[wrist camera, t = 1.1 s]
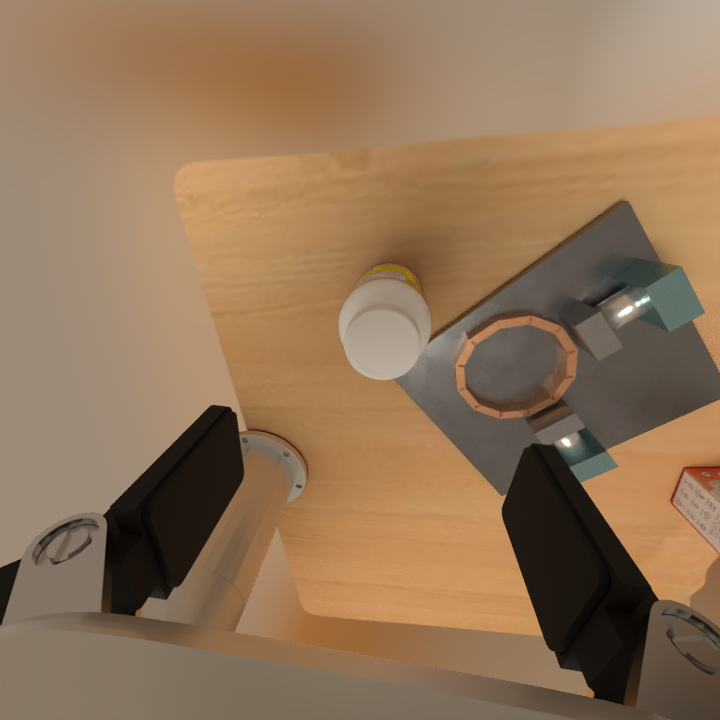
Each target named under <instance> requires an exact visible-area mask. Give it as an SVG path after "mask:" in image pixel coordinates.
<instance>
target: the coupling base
mask: <svg viewBox="0 0 720 720" xmlns="http://www.w3.org/2000/svg"><path fill="white" fill-rule="evenodd" d="M704 313H705V312H704V310H703V308H702V306H701V304H700V302H699V300H698V298H697V296H696V294H695V292H694V290H693V288H692V286H691V284H690V282H689V280H688V278H687V276H686V274H685V273H684V271H683V269H682V267H681V266H676V265H671V264H665V263H661V262H660V260H659V258H658V256H657V254H656V253H655V251H654V249H653V247H652V245H651V243H650V241H649V239H648V238H647V236H646V234H645V232H644V230H643V228H642V226H641V224H640V222H639V221H638V219H637V217H636V215H635V213H634V211H633V209H632V207H631V206H630V204H629V202H628V201H623V202H619V203H617V204H616V205H614V206H613V207H612V208H610V209H609V210H608V211H606V212H605V213H603V214H602V215H601V216H599V217H598V218H596V219H595V220H594V221H592V222H591V223H589V224H588V225H587V226H585V227H584V228H582V229H581V230H580V231H578V232H577V233H576V234H574V235H573V236H571V237H570V238H569V239H567V240H566V241H564V242H563V243H562V244H560V245H559V246H557V247H556V248H555V249H553V250H552V251H550V252H549V253H548V254H546V255H545V256H544V257H542V258H541V259H539V260H538V261H537V262H535V263H534V264H532V265H531V266H530V267H528V268H527V269H525V270H524V271H523V272H521V273H520V274H518V275H517V276H516V277H514V278H513V279H512V280H510V281H509V282H507V283H506V284H505V285H503V286H502V287H500V288H499V289H498V290H496V291H495V292H493V293H492V294H491V295H489V296H488V297H486V298H485V299H484V300H482V301H481V302H480V303H478V304H477V305H475V306H474V307H473V308H471V309H470V310H468V311H467V312H466V313H464V314H463V315H461V316H460V317H459V318H457V319H456V320H454V321H453V322H452V323H450V324H449V325H448V326H446V327H445V328H443V329H442V330H441V331H439V332H438V333H436V334H435V335H434V336H432V337H431V338H430V339H429V341H428V344H427V346H426V348H425V349H424V351H423V352H422V353H421V355H420V356H419V357H418V359H417V361H416V363H415V365H414V366H413V367H412V368H411V369H410V370H409V371H408V372H407V373H405V374H404V375H402V376H400V377H397V378H394V379H395V381H396V382H397V383H398V384H399V385H400V386H401V387H402V388H403V389H404V390H405V391H406V393H407V394H408V395H409V396H410V397H411V398H412V399H413V400H414V401H415V402H416V403H417V404H418V406H419V407H420V408H421V409H422V410H423V411H424V412H425V413H426V414H427V415H428V416H429V418H430V419H431V420H432V421H433V422H434V423H435V424H436V425H437V426H438V427H439V428H440V429H441V431H442V432H443V433H444V434H445V435H446V436H447V437H448V438H449V439H450V440H451V441H452V443H453V444H454V445H455V446H456V447H457V448H458V449H459V450H460V451H461V452H462V453H463V454H464V456H465V457H466V458H467V459H468V460H469V461H470V462H471V463H472V464H473V465H474V466H475V468H476V469H477V470H478V471H479V472H480V473H481V474H482V475H483V476H484V477H485V478H486V479H487V481H488V482H489V483H490V484H491V485H492V486H493V487H494V488H495V489H496V490H497V491H498V493H499V494H500V495H501V496H503V495H505V494H507V493H508V490H509V487H510V485H511V482H512V479H513V477H514V474H515V471H516V468H517V466H518V463H519V460H520V458H521V455H522V452H523V450H524V448H525V447H530V445H531V444H532V443H537V444H545V445H552V446H555V448H556V449H557V450H558V451H559V453H560V454H561V456H562V457H563V459H564V460H565V462H566V463H567V465H568V466H569V468H570V469H571V470H572V472H573V473H574V475H575V476H576V478H577V479H578V481H579V482H580V483H581V482H583V481H585V480H588V479H590V478H593V477H595V476H597V475H600V474H602V473H605V472H607V471H609V470H612V469H614V468H617V467H618V466H617V464H616V463H615V461H614V460H613V459H612V457H611V456H610V455H609V453H608V452H607V451H606V449H609V448H611V447H613V446H615V445H618V444H620V443H622V442H625V441H627V440H629V439H631V438H634V437H636V436H638V435H640V434H643V433H645V432H647V431H649V430H652V429H654V428H656V427H658V426H661V425H663V424H665V423H667V422H670V421H672V420H674V419H676V418H679V417H681V416H683V415H685V414H688V413H690V412H692V411H694V410H697V409H699V408H701V407H703V406H706V405H708V404H710V403H712V402H715V401H717V400H719V399H720V373H719V371H718V369H717V367H716V365H715V363H714V362H713V360H712V358H711V356H710V354H709V352H708V350H707V348H706V347H705V345H704V343H703V341H702V339H701V337H700V335H699V333H698V332H697V330H696V328H695V326H694V324H693V322H692V320H693V319H695V318H696V317H698V316H700V315H702V314H704Z"/></svg>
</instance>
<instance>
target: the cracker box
mask: <svg viewBox="0 0 720 720" xmlns="http://www.w3.org/2000/svg"><path fill="white" fill-rule="evenodd" d="M671 504H672V505H673V506H674V507H675V508H676V509H677V510H678V512H679V513H680V514H681V515H682V516H683V517H684V518H685V519H686V520H687V521H688V522H689V523H690V524H691V525H692V527H693V528H694V529H695V530H696V531H697V532H698V533H699V534H700V535H701V536H702V537H703V538H704V539H705V540H706V541H707V542H708V543H709V545H710V546H711V547H712V548H713V549H714V550H715V551H716V552H717V553H718V554H719V555H720V468H684V470H683V473H682V476H681V478H680V481H679V483H678V486H677V488H676V491H675V493H674V496H673V498H672V501H671Z"/></svg>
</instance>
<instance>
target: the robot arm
mask: <svg viewBox="0 0 720 720" xmlns="http://www.w3.org/2000/svg"><path fill="white" fill-rule="evenodd" d="M306 481H307V468H306V464H305V462H304V460H303V458H302V457H301V455H300V454H299V453H298V451H297V450H296V449H295V448H294V447H293V446H291V445H290V444H289V443H287V442H286V441H284V440H283V439H281V438H279V437H277V436H275V435H272V434H269V433H265V432H260V431H244V432H239V429H238V422H237V415H236V413H235V412H232V410H231V408H230V407H226V406H217V405H212V406H210V407H209V408H208V409H207V410H206V411H205V412H204V413H203V414H202V415H201V416H200V417H199V418H198V419H197V420H196V421H195V422H194V423H193V424H192V425H191V426H190V427H189V428H188V429H187V430H186V431H185V432H184V433H183V434H182V435H181V436H180V437H179V438H178V439H177V440H176V441H175V442H174V443H173V444H172V445H171V446H170V447H169V448H168V449H167V450H166V451H165V452H164V453H163V454H162V455H161V456H160V457H159V458H158V459H157V460H156V461H155V462H154V463H153V464H152V465H151V466H150V467H149V468H148V469H147V470H146V471H145V472H144V473H143V474H142V475H141V476H140V477H139V478H138V479H137V480H136V481H135V482H134V483H133V484H132V485H131V486H130V487H129V488H128V489H127V490H126V491H125V492H124V493H123V494H122V495H121V496H120V497H119V498H118V499H117V500H116V501H115V502H114V503H113V504H112V505H111V506H110V509H109V510H108V511H107V512H106V513H105V514H104V515H103V516H102V515H101V514H97V513H93V512H92V513H81V514H78V515H74V516H70V517H68V518H66V519H63V520H61V521H59V522H57V523H56V524H54V525H52V526H51V527H49V528H47V529H46V530H45V531H43V532H42V533H41V534H40V535H39V536H37V537H36V538H35V539H34V540H33V542H32V543H31V544H30V545H29V546H28V547H27V549H26V551H25V553H24V555H23V557H22V559H20V560H17V561H15V562H13V563H10V564H8V565H6V566H3V567H1V568H0V720H720V628H719V627H718V626H717V625H716V624H715V623H713V622H712V621H710V620H709V619H708V618H706V617H705V616H703V615H702V614H701V613H699V612H697V611H695V610H694V609H692V608H690V607H688V606H686V605H684V604H681V603H678V602H675V601H672V600H658V598H657V597H656V595H655V594H654V592H653V591H652V588H651V586H650V585H649V583H648V582H647V580H646V579H645V577H644V576H643V574H642V573H641V571H640V570H639V568H638V567H637V566H636V564H635V563H634V561H633V560H632V558H631V557H630V555H629V554H628V552H627V551H626V549H625V548H624V547H623V545H622V544H621V542H620V541H619V539H618V538H617V536H616V535H615V533H614V532H613V530H612V529H611V528H610V526H609V525H608V523H607V522H606V520H605V519H604V517H603V516H602V514H601V513H600V511H599V510H598V508H597V507H596V506H595V504H594V503H593V501H592V500H591V498H590V497H589V495H588V494H587V492H586V491H585V489H584V488H583V487H582V485H581V484H580V482H579V481H578V479H577V478H576V476H575V475H574V473H573V472H572V470H571V469H570V468H569V466H568V465H567V463H566V462H565V460H564V459H563V457H562V456H561V454H560V453H559V451H558V450H557V449H556V448H555V446H552V445H545V444H537V443H532V444H531V445H530V447H525V448H524V450H523V452H522V455H521V458H520V460H519V463H518V466H517V468H516V471H515V474H514V477H513V479H512V482H511V485H510V487H509V490H508V493H507V495H506V498H505V501H504V503H503V506H502V518H503V521H504V524H505V527H506V530H507V532H508V535H509V538H510V541H511V544H512V547H513V550H514V553H515V556H516V558H517V561H518V564H519V567H520V570H521V573H522V576H523V579H524V582H525V584H526V587H527V590H528V593H529V596H530V599H531V602H532V605H533V608H534V610H535V613H536V616H537V619H538V622H539V625H540V628H541V631H542V634H543V636H544V639H545V642H546V644H547V646H548V648H549V649H550V650H551V651H554V652H555V654H556V657H557V660H558V663H559V665H560V668H563V669H569V670H575V671H580V672H582V673H583V675H584V678H585V680H586V683H587V685H588V687H589V689H588V693H587V697H586V696H581V695H576V694H571V693H566V692H561V691H556V690H551V689H546V688H542V687H537V686H532V685H527V684H521V683H516V682H510V681H505V680H499V679H494V678H489V677H483V676H477V675H472V674H467V673H461V672H456V671H450V670H445V669H440V668H434V667H429V666H423V665H418V664H411V663H407V662H401V661H395V660H390V659H384V658H378V657H372V656H367V655H362V654H356V653H350V652H345V651H339V650H334V649H328V648H322V647H317V646H311V645H305V644H300V643H293V642H288V641H283V640H277V639H271V638H265V637H259V636H253V635H248V634H241V633H236V632H235V631H236V629H237V626H238V623H239V621H240V618H241V616H242V613H243V611H244V608H245V606H246V603H247V601H248V598H249V595H250V593H251V591H252V588H253V586H254V583H255V581H256V578H257V575H258V573H259V570H260V568H261V565H262V563H263V560H264V558H265V555H266V553H267V550H268V547H269V545H270V543H271V540H272V538H273V535H274V532H275V530H276V527H277V525H278V522H279V520H280V517H281V515H282V512H283V510H284V507H285V505H286V503H289V502H291V501H293V500H295V499H296V498H297V497H299V496H300V494H301V493H302V492H303V490H304V487H305V485H306Z"/></svg>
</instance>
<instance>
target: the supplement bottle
mask: <svg viewBox="0 0 720 720" xmlns="http://www.w3.org/2000/svg"><path fill="white" fill-rule="evenodd" d="M338 329H339V336H340V339H341V342H342V344H343V346H344V349H345V354H346V357H347V359H348V361H349V362H350V364H351V365H352V367H353V368H354V369H355V370H356V371H358V372H359V373H360V374H362V375H364V376H366V377H368V378H371V379H375V380H390V379H394V378H397V377H400V376H402V375H404V374H405V373H407V372H408V371H409V370H410V369H411V368H412V367H413V366H414V365H415V363H416V361H417V359H418V357H419V356H420V355H421V353H422V352H423V351H424V349H425V348H426V346H427V344H428V341H429V339H430V335H431V329H432V321H431V315H430V311H429V308H428V305H427V302H426V298H425V295H424V292H423V289H422V287H421V284H420V282H419V280H418V279H417V277H416V276H415V275H414V274H413V273H412V272H411V271H410V270H408V269H407V268H405V267H403V266H401V265H397V264H391V263H388V264H381V265H377V266H375V267H373V268H371V269H369V270H368V271H367V272H366V273H364V274H363V276H362V277H361V278H360V279H359V281H358V282H357V284H356V285H355V287H354V289H353V290H352V292H351V293H350V295H349V296H348V298H347V299H346V301H345V303H344V305H343V307H342V309H341V312H340V315H339V322H338Z"/></svg>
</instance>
